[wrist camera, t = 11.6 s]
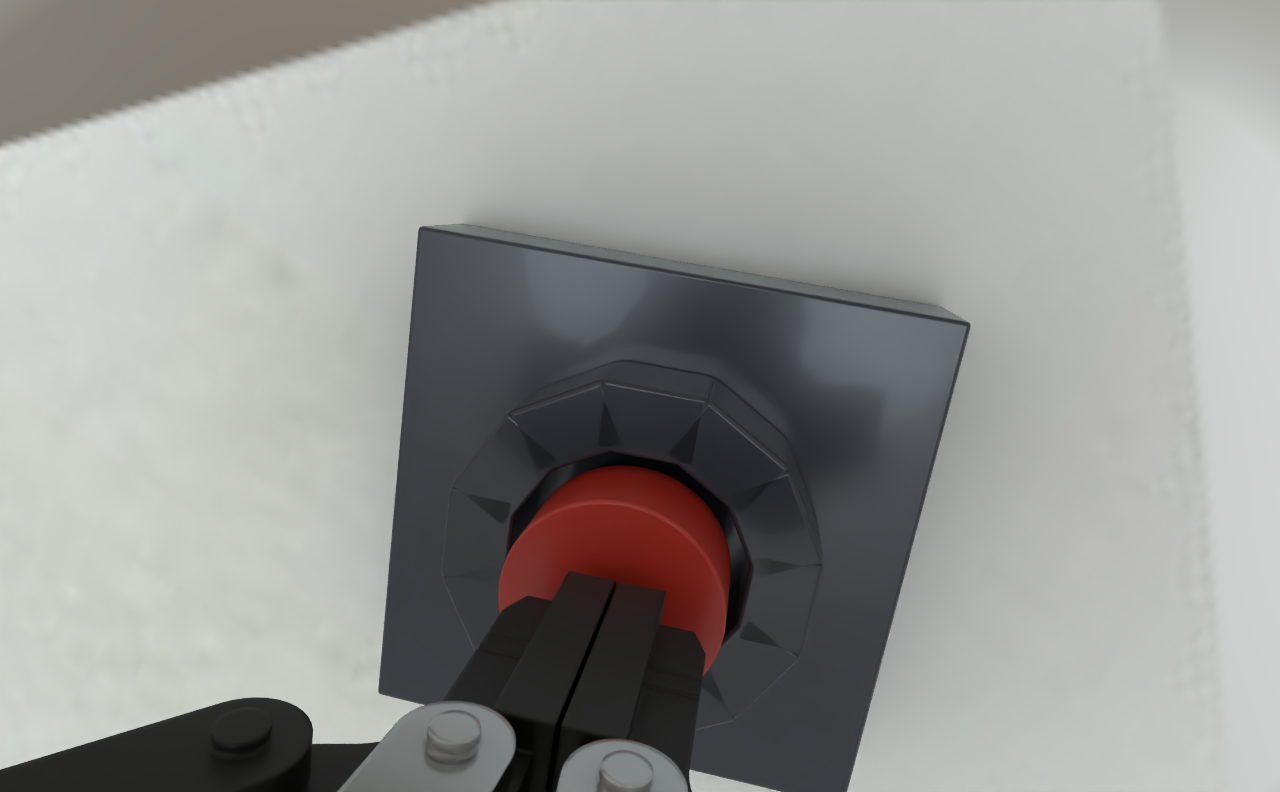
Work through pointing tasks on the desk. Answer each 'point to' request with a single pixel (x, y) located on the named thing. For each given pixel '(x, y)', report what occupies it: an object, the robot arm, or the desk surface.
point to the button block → (673, 466)
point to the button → (628, 547)
